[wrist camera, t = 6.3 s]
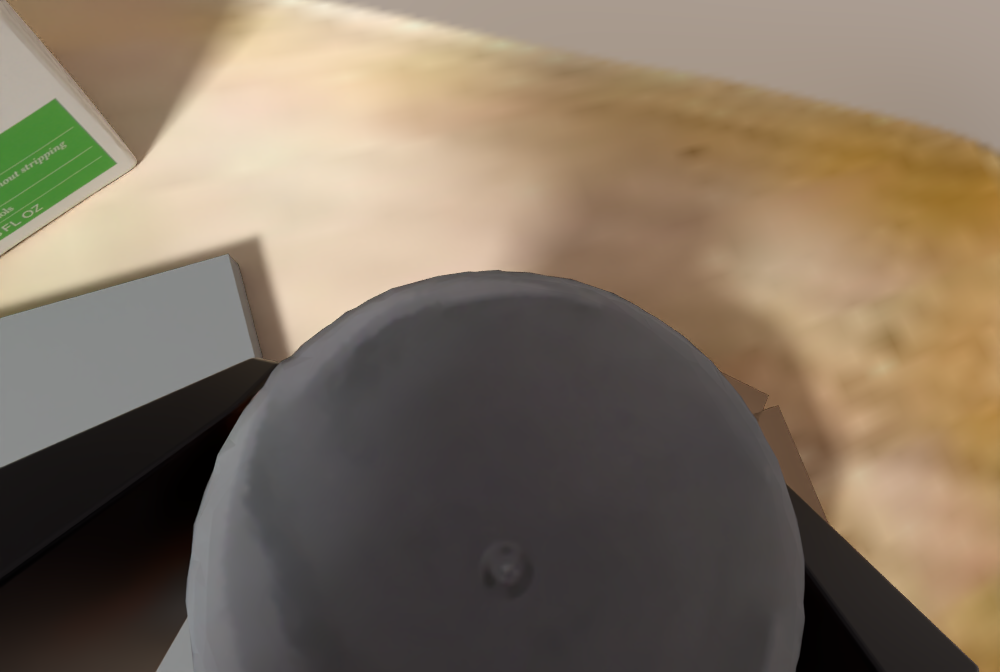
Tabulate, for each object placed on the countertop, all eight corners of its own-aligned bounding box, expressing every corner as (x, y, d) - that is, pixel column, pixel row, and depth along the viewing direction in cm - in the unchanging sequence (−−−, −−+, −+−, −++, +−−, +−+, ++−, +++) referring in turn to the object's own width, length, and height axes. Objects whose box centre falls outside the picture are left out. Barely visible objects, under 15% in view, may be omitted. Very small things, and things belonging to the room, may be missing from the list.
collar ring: (840, 674, 20) (905, 703, 17) (469, 824, 19) (470, 884, 16) (693, 315, 23) (728, 288, 20) (355, 424, 21) (338, 411, 18)
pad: (335, 638, 20) (329, 645, 19) (-103, 796, 18) (-135, 812, 17) (238, 264, 22) (228, 253, 21) (-153, 375, 21) (-184, 369, 20)
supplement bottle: (658, 504, 15) (1142, 498, 4) (496, 735, 14) (622, 1526, 3) (456, 343, 16) (449, -4, 5) (283, 548, 15) (-228, 665, 4)
